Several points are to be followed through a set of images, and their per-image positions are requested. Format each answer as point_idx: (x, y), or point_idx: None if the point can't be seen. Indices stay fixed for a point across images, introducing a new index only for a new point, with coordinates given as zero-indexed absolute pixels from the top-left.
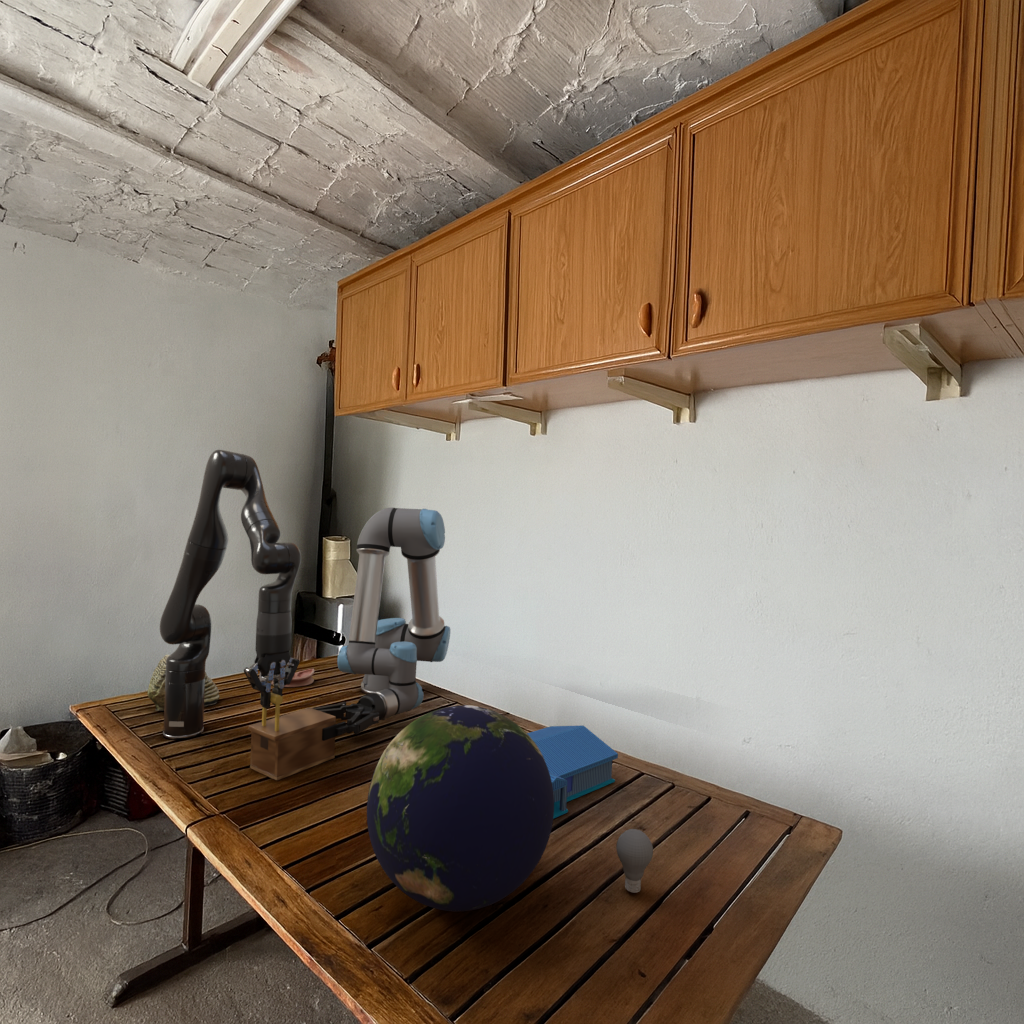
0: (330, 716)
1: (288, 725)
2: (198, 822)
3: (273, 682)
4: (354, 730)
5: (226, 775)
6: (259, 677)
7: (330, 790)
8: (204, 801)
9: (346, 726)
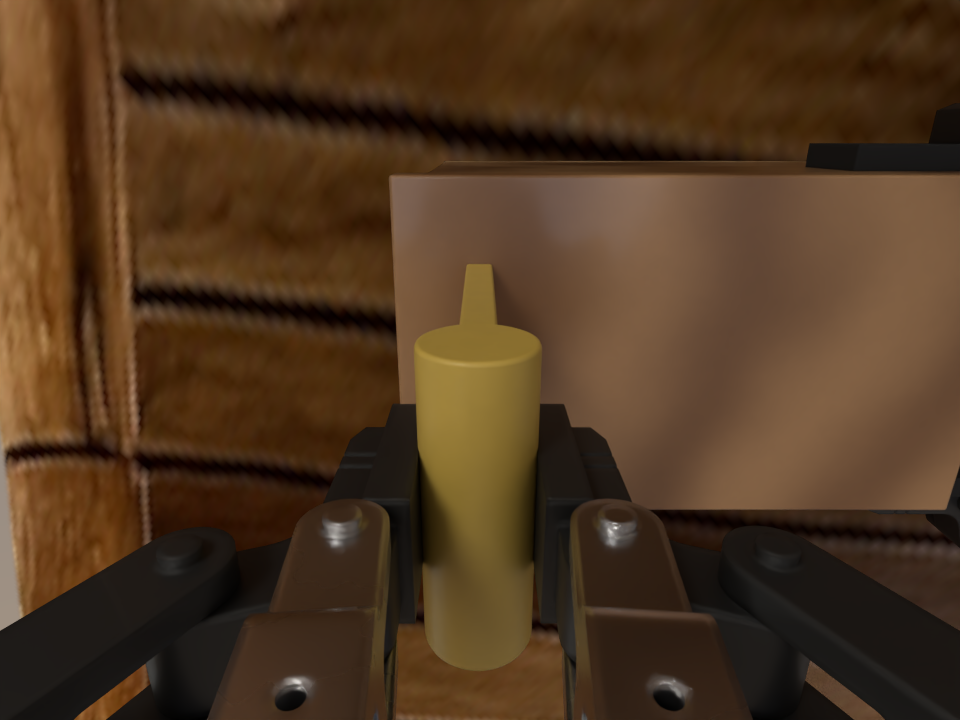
0: (925, 486)
1: (603, 411)
2: (44, 460)
3: (571, 565)
4: (941, 526)
5: (312, 146)
6: (242, 638)
7: (534, 599)
8: (119, 325)
9: (935, 510)
